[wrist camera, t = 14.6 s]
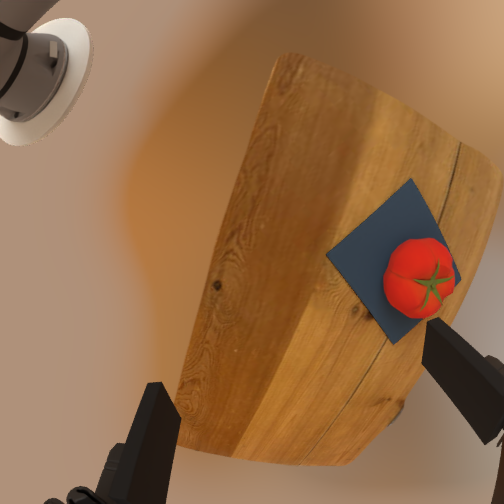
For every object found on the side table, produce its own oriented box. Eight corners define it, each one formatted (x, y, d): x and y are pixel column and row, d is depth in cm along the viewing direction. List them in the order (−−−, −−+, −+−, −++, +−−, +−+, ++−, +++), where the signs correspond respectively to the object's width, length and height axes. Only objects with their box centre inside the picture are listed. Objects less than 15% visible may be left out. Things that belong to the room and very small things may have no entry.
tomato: (407, 314, 38) (432, 338, 31) (360, 280, 36) (384, 304, 29) (445, 257, 36) (476, 273, 29) (403, 216, 34) (435, 226, 27)
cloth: (325, 254, 36) (326, 255, 35) (410, 178, 33) (411, 178, 33) (392, 343, 40) (393, 344, 40) (460, 278, 38) (461, 279, 37)
